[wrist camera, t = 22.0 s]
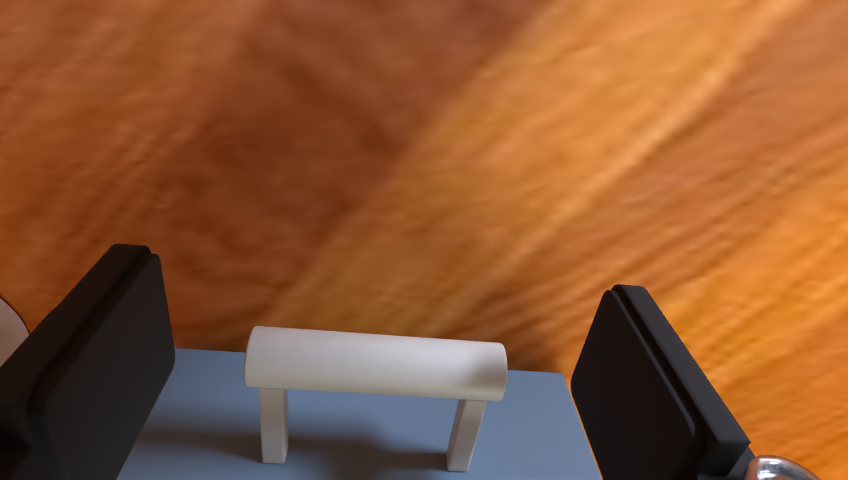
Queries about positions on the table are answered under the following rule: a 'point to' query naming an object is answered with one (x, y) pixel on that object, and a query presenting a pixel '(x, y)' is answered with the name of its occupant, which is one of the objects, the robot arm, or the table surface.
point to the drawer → (359, 413)
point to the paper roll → (10, 331)
